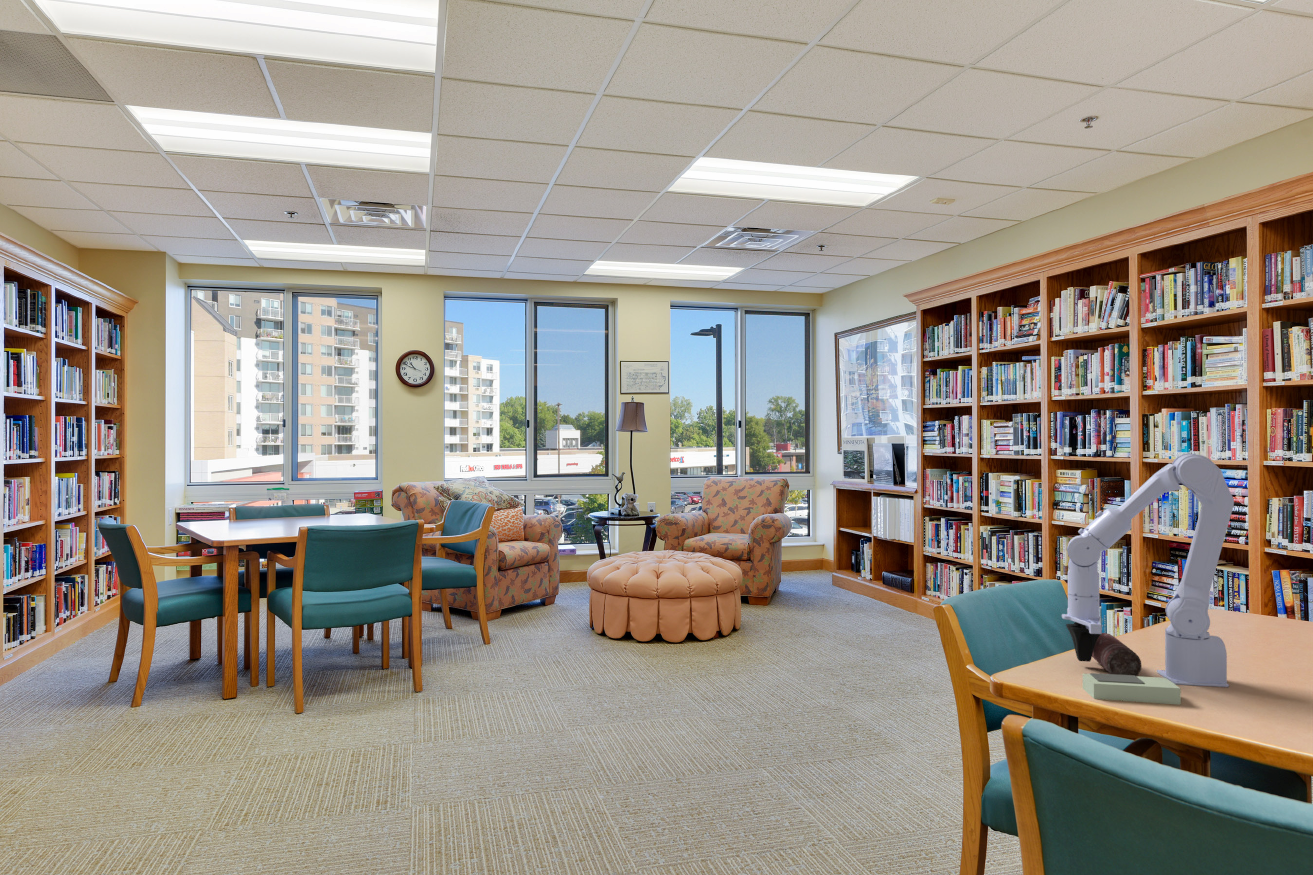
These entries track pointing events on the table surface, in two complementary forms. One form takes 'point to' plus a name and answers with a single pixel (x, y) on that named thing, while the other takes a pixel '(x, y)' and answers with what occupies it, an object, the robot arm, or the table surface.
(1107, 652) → the can
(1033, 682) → the table surface
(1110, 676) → the pale green slab
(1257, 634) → the table surface
